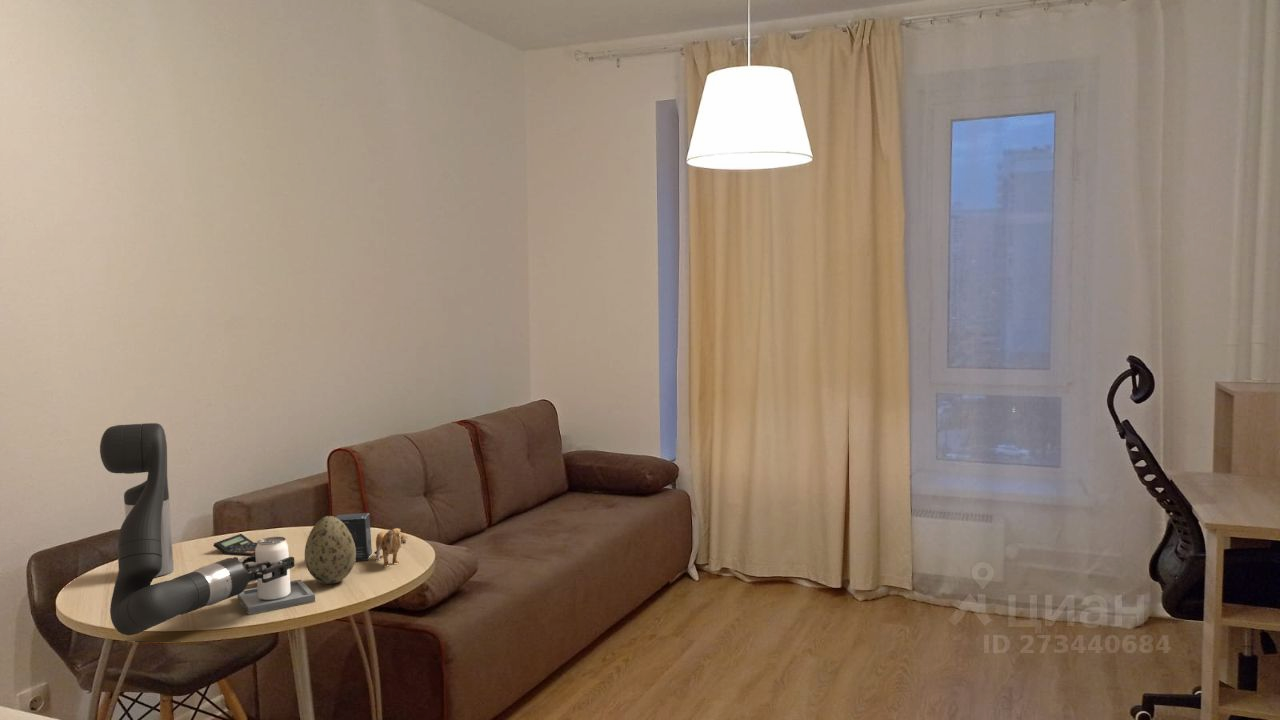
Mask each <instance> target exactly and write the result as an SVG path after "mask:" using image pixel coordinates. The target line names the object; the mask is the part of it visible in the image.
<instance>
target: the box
mask: <svg viewBox="0 0 1280 720" xmlns="http://www.w3.org/2000/svg"><path fill="white" fill-rule="evenodd" d="M335 517H336V518H338V519H339V520H340V521H342V522H343V523H344V524H345V526H346V527H347V528H348V530H349V531H350V533H351V535H352V537H353V540H354V543H355V548H356V559H355V560H364V561H368V560H369V559H370V558H369V556H370V555H371V554H372V553H373V552H372V551H373V549H372V548H373V547H372V534H371V532H372V531H371V518H370V513H369V512H365V513H348V514H337V515H336V516H335ZM371 556H372V555H371ZM371 556H370V557H371ZM368 558H369V559H368ZM367 559H368V560H367Z"/></svg>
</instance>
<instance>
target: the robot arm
mask: <svg viewBox="0 0 1280 720" xmlns="http://www.w3.org/2000/svg"><path fill="white" fill-rule="evenodd" d="M167 445H168V444H167V437H166V433H165V430H164V428H163V425H161V424H159V423H157V422H155V423H154V422H153V423H150V422H148V423H133V424H118V425H113V426H110V427H107V428H106V429H105V431H104V432H103V434H102V436H101V438H100V445H99V454H100V460H101V462H102V465H103V466H104V468H105V469H106V470H107V471H108V472H109V473H111V474H126V475H128V474H129V475H132V474H139V473H140V474H141V473H142V474H143V473H147V478H146V480H145V481H144V482H142V483H139V484H138V485H135V486H132V487H131V488H128V489H127V490H126V491H125V492H124V493H123V502H124V516H125V519H124V520H123V522H122V524H121V527H120V528H119V533H118V537H117V557H118V558H117V561H118V563H117V564H118V571H117V576H116V579H115V583H114V587H113V592H112V596H111V600H110V607H109V608H110V609H109V613H110V619H111V624H112V626H113V627H114V629H115V630H116V631H117V632H118V633H120V634H122V635H125V636H133V635H138V634H140V633H143V632H145V631H146V630H149V629H151V628H153V627H156V626H157V625H160V624H162V623H165V622H166V621H168V620H169V621H170V620H171V619H173V618H176V617H178V616H183V615H185V614H188V613H192V612H195V611H197V610H199V609H202V608H205V607H209V606H212V605H215V604H218V603H220V602H223V601H226V600H228V599H230V598H233V597H237V595H238V594H240V593H242V592H243V591H244V590H245V588H246V586H247V584H248V583H252V582H257V580H262V583H267V582H269V581H272V580H275V579H278V578H280V577H283V576H286V575H287V570H288V569H292V568H294V567H295V565H296V564H295V557H294V556H289V557H288V558H285V559H283V560H280V561H276V562H269V561H261V562H256V555H253V556H243V557H241V558H239V557H236V556H234V557H228V558H224V559H221V560H219V561H216V562H212V563H210V564H207V565H204V566H202V567H199V568H196V569H195V570H193V571H191V572H189V573H188V572H187V573H186V574H183V575H180V576H176V577H174V578H172V579H168V580H165V581H160V582H157V583H153V584H152V582H153V580H154V578H156V577H162V576H165V575H168V574H170V573H172V572H174V570H175V568H174V552H173V539H172V521H171V520H172V519H171V509H170V508H171V507H170V492H169V481H168V446H167ZM261 565H265V566H266V568H265V569H263V570H262V566H261ZM271 566H272V567H271Z"/></svg>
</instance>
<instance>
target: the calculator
mask: <svg viewBox="0 0 1280 720" xmlns="http://www.w3.org/2000/svg"><path fill="white" fill-rule="evenodd" d="M256 546H257V542H254V541H252V540H251V539H250V538H248V537H247V536H245V535H243V534H242V533H239V534H236V535H233V536H230V537H228V538H224V539H222V540H220V541H217V542H214V543H213V547H214V548H216V549H217V550H218V551H220V552H221V553H223V554H224V555H228V556H243V557H250V556H253V555H255V549H256Z"/></svg>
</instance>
